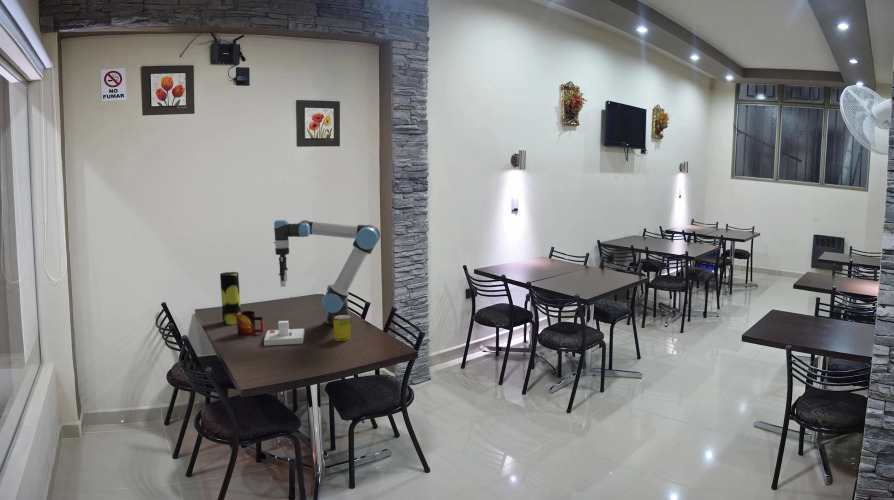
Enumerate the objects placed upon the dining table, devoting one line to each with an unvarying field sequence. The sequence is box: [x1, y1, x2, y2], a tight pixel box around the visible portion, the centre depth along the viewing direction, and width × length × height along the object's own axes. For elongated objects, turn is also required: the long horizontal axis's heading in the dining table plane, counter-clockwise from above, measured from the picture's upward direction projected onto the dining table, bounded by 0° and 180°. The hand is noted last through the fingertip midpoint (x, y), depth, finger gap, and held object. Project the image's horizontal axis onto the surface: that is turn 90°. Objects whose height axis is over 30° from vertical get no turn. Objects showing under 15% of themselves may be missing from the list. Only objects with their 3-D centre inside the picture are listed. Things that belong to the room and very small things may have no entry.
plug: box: [278, 320, 290, 336], centre depth 337 cm, size 5×4×10 cm
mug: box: [236, 310, 264, 337], centre depth 349 cm, size 10×14×12 cm
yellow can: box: [333, 315, 352, 342], centre depth 339 cm, size 9×9×12 cm
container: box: [219, 271, 242, 326], centre depth 370 cm, size 11×11×30 cm
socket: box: [263, 328, 305, 347], centre depth 338 cm, size 20×18×4 cm
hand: (283, 283), depth 354 cm, fingers open, 13 cm apart
